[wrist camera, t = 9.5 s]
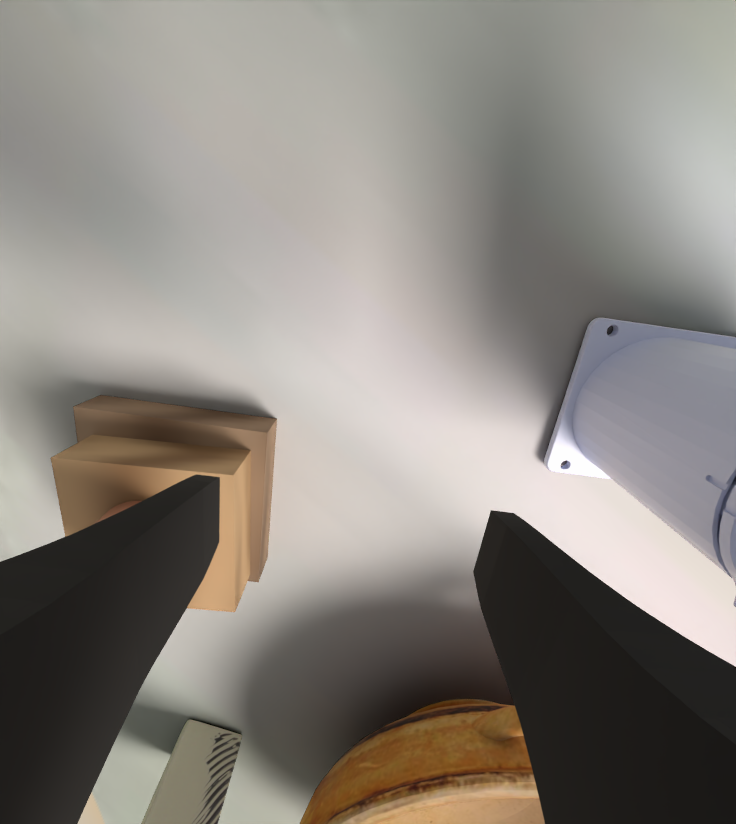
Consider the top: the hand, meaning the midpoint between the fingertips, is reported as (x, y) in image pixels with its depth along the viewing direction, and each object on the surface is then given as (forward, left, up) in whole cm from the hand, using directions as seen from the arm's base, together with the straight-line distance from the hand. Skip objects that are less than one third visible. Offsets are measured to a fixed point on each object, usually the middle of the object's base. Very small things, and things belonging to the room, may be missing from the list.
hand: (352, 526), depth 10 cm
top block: (+9, +6, -8) cm, 13 cm away
